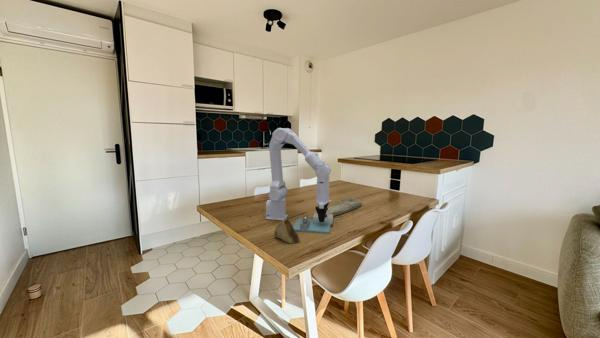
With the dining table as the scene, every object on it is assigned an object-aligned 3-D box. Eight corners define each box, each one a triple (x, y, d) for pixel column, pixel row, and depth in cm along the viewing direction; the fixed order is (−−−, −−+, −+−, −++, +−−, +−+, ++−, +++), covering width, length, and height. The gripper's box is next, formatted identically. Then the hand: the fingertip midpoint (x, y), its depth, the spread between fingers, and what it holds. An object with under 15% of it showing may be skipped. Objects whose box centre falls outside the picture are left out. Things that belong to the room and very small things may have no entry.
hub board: (292, 231, 109) (292, 229, 109) (297, 219, 122) (297, 218, 122) (329, 233, 106) (329, 231, 106) (330, 222, 120) (331, 220, 120)
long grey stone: (313, 218, 130) (328, 224, 123) (313, 208, 129) (329, 214, 122) (351, 201, 154) (365, 206, 148) (351, 193, 153) (366, 197, 146)
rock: (266, 231, 103) (273, 237, 93) (278, 213, 104) (285, 217, 95) (287, 243, 106) (295, 251, 97) (298, 226, 108) (307, 231, 98)
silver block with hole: (332, 224, 114) (332, 218, 114) (312, 223, 116) (312, 217, 116) (332, 220, 120) (333, 214, 120) (314, 219, 121) (314, 213, 121)
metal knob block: (300, 231, 109) (300, 219, 108) (302, 224, 117) (303, 214, 116) (307, 231, 108) (307, 220, 108) (309, 224, 116) (310, 214, 115)
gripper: (330, 194, 108) (330, 225, 110) (332, 187, 122) (331, 214, 124) (314, 194, 109) (313, 224, 111) (317, 186, 123) (317, 213, 125)
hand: (322, 219), depth 118 cm, fingers open, 7 cm apart
